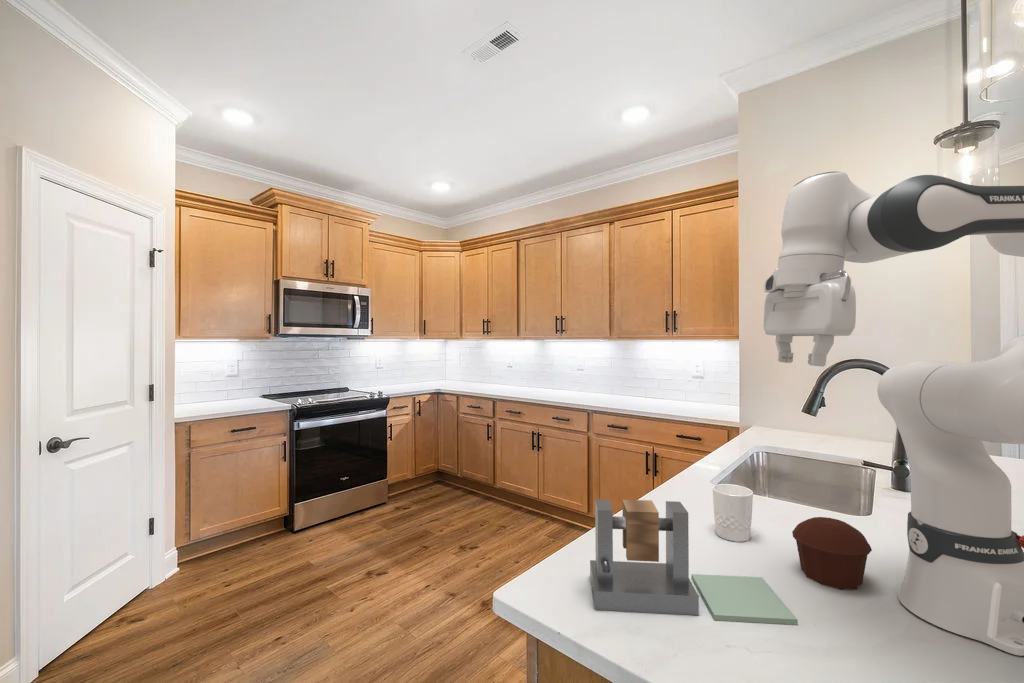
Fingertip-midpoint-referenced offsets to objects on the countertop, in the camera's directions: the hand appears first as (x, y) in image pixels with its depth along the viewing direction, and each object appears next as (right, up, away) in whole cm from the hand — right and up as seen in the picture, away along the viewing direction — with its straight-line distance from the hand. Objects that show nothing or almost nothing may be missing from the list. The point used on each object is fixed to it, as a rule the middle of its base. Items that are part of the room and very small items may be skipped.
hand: (799, 364), depth 72 cm
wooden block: (-24, -32, +4) cm, 40 cm away
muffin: (+11, -39, +9) cm, 42 cm away
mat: (-8, -39, +2) cm, 40 cm away
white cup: (+2, -39, +26) cm, 47 cm away
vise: (-24, -39, +4) cm, 46 cm away
